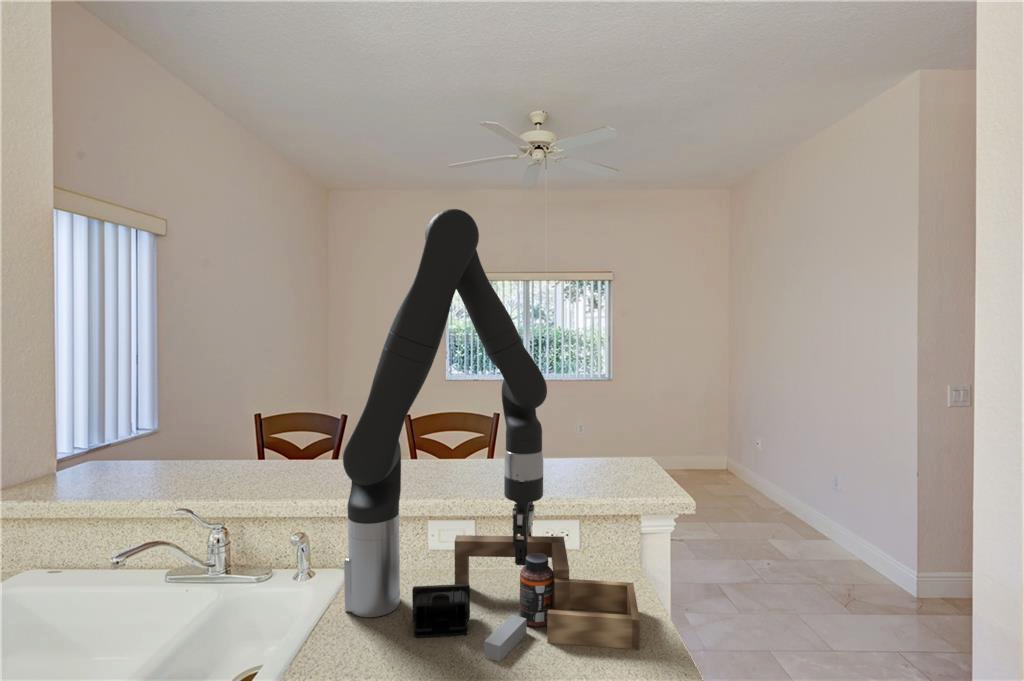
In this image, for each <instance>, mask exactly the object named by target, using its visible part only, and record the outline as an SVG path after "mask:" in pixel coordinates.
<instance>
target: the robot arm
mask: <svg viewBox="0 0 1024 681" xmlns="http://www.w3.org/2000/svg"><path fill="white" fill-rule="evenodd" d="M424 236H425V237H424V239H425V242H424V246H423V251H422V254H421V257H420V262H419V264H418V269H417V272H416V275H415V276H414V277H415V278H414V280H413V282H412V284H411V287H410V288H409V290H408V291H407V294H406V296H405V297H404V299H403V301H402V302H401V305H400V306H399V309H398V310H397V313H396V314H395V317H394V319H393V321H392V323H391V326H390V329H389V331H388V334H387V336H386V340H385V341H384V345H383V346H382V347H383V348H382V351H381V353H380V357H379V360H378V362H377V363H378V364H377V366H376V369H375V373H374V376H373V380H372V383H371V387H370V392H369V395H368V397H367V401H366V404H365V406H364V409H363V411H362V413H361V416H360V417H359V420H358V422H357V424H356V427H355V428H354V430H353V432H352V434H351V436H350V438H349V440H348V442H347V444H346V446H345V447H344V450H343V454H342V465H343V469H344V472H345V474H346V475H347V477H348V478H349V479H350V480H351V484H350V485H351V487H350V492H349V498H348V502H347V534H348V535H347V537H348V539H347V544H348V545H347V546H348V547H347V550H348V552H347V556H346V558H345V559H344V561H343V570H344V571H343V574H344V575H343V579H344V582H343V583H344V587H343V588H344V611H345V612H350V613H352V614H353V615H355V616H358V617H362V618H376V617H381V616H385V615H388V614H390V613H391V612H394V611H395V610H396V609H397V608H398V607H399V606H400V603H401V598H400V596H401V585H400V583H401V582H400V581H401V575H400V574H401V573H400V572H401V571H400V569H401V568H400V567H401V566H400V565H401V564H400V561H401V560H400V556H401V555H400V499H401V492H402V490H401V489H402V481H401V480H402V450H401V444H400V441H399V439H400V436H401V434H402V429H403V426H404V424H405V421H406V418H407V416H408V413H409V411H410V409H411V408H412V406H413V404H414V402H415V400H416V398H418V395H419V393H420V391H421V389H422V388H423V386H424V383H425V382H426V380H427V377H428V376H429V373H430V371H431V369H432V366H433V363H434V362H435V361H434V360H435V358H436V355H437V354H438V349H439V347H440V344H441V341H442V338H443V335H444V332H445V328H446V325H447V322H448V319H449V314H450V311H451V308H452V307H451V306H452V302H453V299H454V296H455V293H456V291H457V293H458V294H459V297H460V298H461V301H462V303H463V305H464V308H465V310H466V311H467V314H468V316H469V318H470V321H471V323H472V325H473V328H474V330H475V332H476V334H477V336H478V339H479V340H480V342H481V344H482V347H483V349H484V351H485V352H486V355H487V357H488V359H489V360H490V362H491V363H492V364H493V365H494V366H495V367H496V368H497V369H498V370H499V372H500V374H501V375H502V377H503V381H502V384H501V402H502V410H503V416H504V421H505V454H504V455H505V456H504V462H503V463H504V466H503V467H504V470H503V471H504V474H503V475H504V477H503V478H504V479H503V480H504V484H503V485H504V486H503V488H504V489H503V490H504V491H503V492H504V497H505V498H506V499H507V500H508V501H513V502H514V504H513V508H512V513H511V514H512V536H513V542H512V544H513V546H514V547H515V557H514V560H515V561H514V563H515V565H516V566H523V567H524V566H526V564H525V562H526V556H527V545H528V536H532V527H533V525H534V524H533V523H534V520H535V509H536V506H535V504H534V502H537V501H539V500H541V499H542V498H543V496H544V457H543V428H542V424H541V422H540V421H539V419H538V416H537V411H536V409H537V408H539V407H540V406H542V404H544V402H545V400H546V398H547V395H548V387H547V382H546V378H545V377H544V375H543V373H542V371H541V370H540V368H539V367H538V365H537V363H536V361H535V360H534V359H533V358H532V355H531V354H530V353H529V352H528V350H527V348H526V346H525V345H524V343H523V340H522V338H521V336H520V334H519V332H518V330H517V327H516V325H515V324H514V321H513V319H512V317H511V315H510V314H509V312H508V310H507V309H506V307H505V305H504V303H503V302H502V300H501V299H500V297H499V295H498V294H497V293H496V290H495V289H494V288H493V285H492V284H491V282H490V280H489V278H488V277H487V274H486V273H485V270H484V267H483V265H482V261H481V260H480V256H479V253H478V250H477V247H478V245H479V239H480V234H479V227H478V225H477V223H476V221H475V220H474V218H473V217H472V216H471V215H470V214H469V213H467V212H466V211H465V210H462V209H458V208H449V209H444V210H442V211H440V212H438V213H436V214H435V215H434V216H433V217H432V218H431V220H429V222H428V224H427V226H426V229H425V233H424ZM518 536H524V539H518Z"/></svg>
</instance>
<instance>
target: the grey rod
mask: <svg viewBox="0 0 1024 681" xmlns="http://www.w3.org/2000/svg"><path fill="white" fill-rule="evenodd" d="M527 627H528V625H527V619H526V618H523V617H520V615H516V614H513V613H512V614H511V615H509V617H507V619H506V620H504V622H502V623H501V624H500V626H498V627H497V628H496V629H495V630H494V631H493V632H492V633H491V634H490V635H489V636H488V637H487V638H486V639H485V640H484V657H486V658H488V659H491V660H494V661H497V662H499V663H500V662H501V661H502V660H503V659H504V658H505V657H506V656H507V655H508V653H509V652H511V650H512V649H513V648H514V647H515V646H517V644H518V643H519V642H520V641H521V640H522V638H524V637H525V635H527Z"/></svg>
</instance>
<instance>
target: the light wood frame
mask: <svg viewBox="0 0 1024 681" xmlns="http://www.w3.org/2000/svg"><path fill="white" fill-rule="evenodd" d="M569 580H570V609H573V611H572V610H570V611H562V610H548V613H547V625H546V626H547V627H546V629H547V632H546V633H547V634H546V635H547V636H546V637H547V638H546V640H547V641H546V642H547V643H548V644H549V643H550V644H562V645H575V646H589V647H601V648H615V649H626V650H627V649H628V650H629V649H630V650H640V643H641V642H640V640H641V639H640V638H641V637H640V635H641V633H640V632H641V630H640V629H641V627H640V626H641V617H640V613H639V607H638V601H637V597H636V590H635V584H634V582H626V581H625V582H624V581H608V580H594V579H592V580H591V579H578V578H577V579H575V578H569ZM576 610H577V611H576ZM578 610H588V611H589V610H590V611H591V610H592V611H601V612H590V611H589V612H588V611H578ZM602 611H603V613H602ZM604 611H605V612H607V611H608V612H619V613H620V612H621V613H626V614H619V613H618V614H617V613H604Z"/></svg>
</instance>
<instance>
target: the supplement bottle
mask: <svg viewBox="0 0 1024 681" xmlns="http://www.w3.org/2000/svg"><path fill="white" fill-rule="evenodd" d="M525 564H526V565H525V566H523V567H522V568H521V569H520V572H519V617H523V618H526V619H527V626H531V627H536V628H537V627H540V628H541V627H544V626H547V613H548V610H553V568H551V567H550V566H549V558H548V557H547V556H546V555H545V554H541V553H531V554H529V555H527V556H526V562H525Z"/></svg>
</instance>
